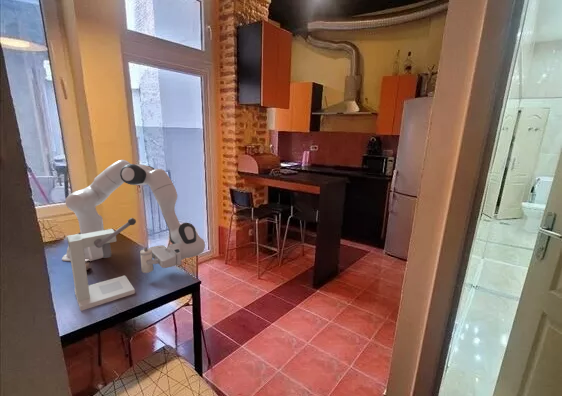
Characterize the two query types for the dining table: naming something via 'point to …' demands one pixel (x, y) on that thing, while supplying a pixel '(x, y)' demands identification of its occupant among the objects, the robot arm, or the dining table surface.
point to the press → (83, 291)
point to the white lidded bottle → (146, 255)
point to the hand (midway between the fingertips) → (144, 260)
